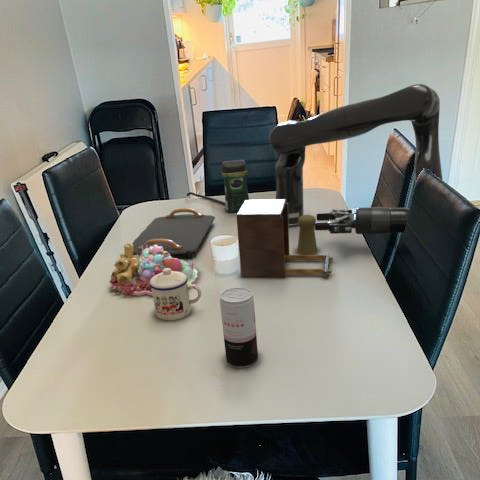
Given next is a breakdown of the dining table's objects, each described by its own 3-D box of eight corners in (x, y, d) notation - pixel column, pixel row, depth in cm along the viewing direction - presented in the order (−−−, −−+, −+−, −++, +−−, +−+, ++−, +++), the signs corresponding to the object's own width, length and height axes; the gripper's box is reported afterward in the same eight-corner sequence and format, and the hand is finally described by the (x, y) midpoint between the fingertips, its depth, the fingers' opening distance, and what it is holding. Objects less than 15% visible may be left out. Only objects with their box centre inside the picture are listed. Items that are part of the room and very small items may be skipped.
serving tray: (194, 262, 149) (192, 243, 146) (122, 263, 153) (118, 244, 150) (218, 220, 183) (216, 204, 180) (158, 222, 186) (155, 206, 183)
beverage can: (235, 348, 106) (229, 285, 99) (263, 354, 103) (259, 289, 96) (220, 364, 101) (212, 299, 94) (249, 371, 98) (243, 304, 91)
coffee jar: (248, 205, 197) (245, 157, 188) (251, 211, 190) (247, 161, 181) (224, 207, 196) (219, 159, 187) (226, 213, 189) (221, 164, 180)
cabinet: (289, 259, 146) (287, 199, 137) (284, 278, 135) (282, 213, 126) (249, 259, 148) (245, 199, 140) (241, 277, 137) (236, 214, 129)
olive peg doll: (316, 246, 153) (316, 212, 147) (317, 254, 148) (317, 218, 142) (297, 247, 154) (296, 213, 148) (297, 255, 148) (296, 219, 143)
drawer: (332, 258, 143) (332, 253, 142) (331, 277, 132) (331, 271, 131) (284, 258, 146) (284, 253, 145) (279, 276, 135) (278, 271, 134)
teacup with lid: (151, 322, 119) (143, 278, 113) (159, 304, 127) (151, 262, 121) (201, 320, 118) (195, 275, 112) (205, 302, 126) (200, 260, 120)
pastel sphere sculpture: (100, 300, 132) (92, 268, 127) (121, 265, 152) (115, 236, 148) (193, 295, 130) (189, 262, 126) (202, 260, 151) (198, 231, 146)
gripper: (372, 200, 146) (317, 201, 150) (374, 215, 134) (313, 216, 138) (371, 224, 150) (317, 225, 153) (372, 242, 138) (314, 242, 141)
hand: (315, 221), depth 145 cm, fingers open, 8 cm apart
